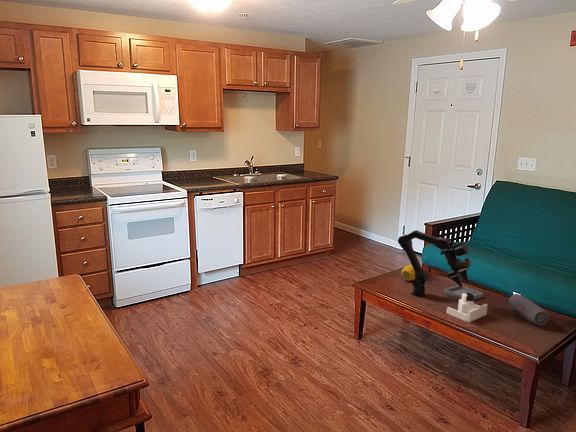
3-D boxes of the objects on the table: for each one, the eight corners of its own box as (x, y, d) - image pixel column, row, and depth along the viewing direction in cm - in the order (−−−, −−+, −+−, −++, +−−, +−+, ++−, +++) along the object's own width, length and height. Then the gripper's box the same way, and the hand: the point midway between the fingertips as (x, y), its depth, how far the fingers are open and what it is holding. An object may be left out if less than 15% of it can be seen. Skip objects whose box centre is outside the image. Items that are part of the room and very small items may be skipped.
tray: (443, 293, 270) (444, 289, 269) (460, 288, 278) (460, 284, 277) (465, 302, 256) (466, 298, 256) (482, 297, 265) (483, 293, 264)
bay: (446, 313, 242) (447, 303, 241) (464, 305, 252) (465, 296, 250) (468, 322, 231) (470, 312, 230) (486, 314, 241) (487, 304, 240)
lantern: (418, 258, 302) (394, 267, 283) (431, 264, 296) (406, 274, 276) (414, 270, 306) (390, 280, 287) (426, 277, 300) (402, 288, 280)
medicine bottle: (470, 311, 245) (472, 291, 242) (474, 316, 238) (476, 296, 235) (457, 310, 245) (459, 290, 243) (461, 316, 238) (463, 295, 236)
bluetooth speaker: (506, 309, 248) (508, 293, 246) (521, 308, 249) (524, 292, 247) (531, 328, 226) (534, 310, 224) (548, 327, 227) (551, 309, 225)
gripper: (458, 258, 237) (471, 284, 234) (470, 251, 250) (483, 275, 248) (440, 264, 244) (453, 290, 241) (453, 257, 258) (465, 281, 255)
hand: (464, 284), depth 246 cm, fingers open, 9 cm apart
